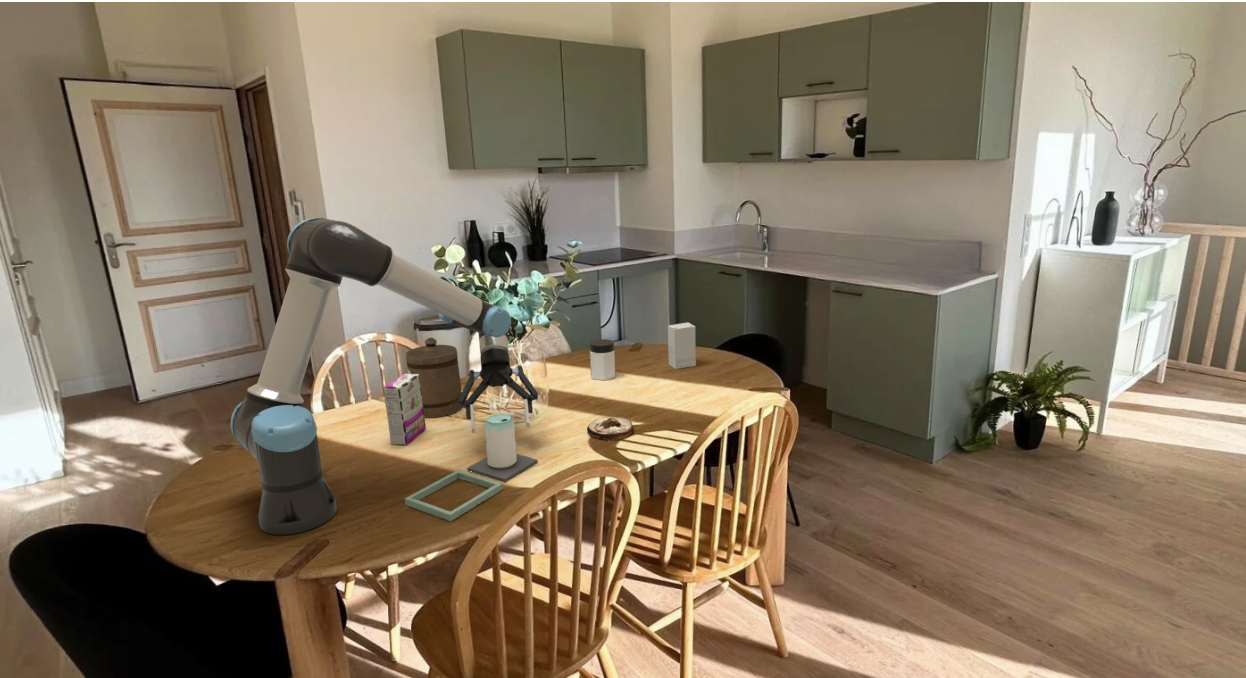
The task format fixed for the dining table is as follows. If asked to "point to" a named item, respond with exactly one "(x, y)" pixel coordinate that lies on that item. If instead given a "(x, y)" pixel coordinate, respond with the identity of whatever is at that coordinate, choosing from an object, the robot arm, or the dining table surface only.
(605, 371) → the jar
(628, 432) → the sushi roll
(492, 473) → the coaster
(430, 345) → the wooden container
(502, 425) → the can
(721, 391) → the dining table surface
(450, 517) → the corral
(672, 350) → the skincare box
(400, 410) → the candy bar box
